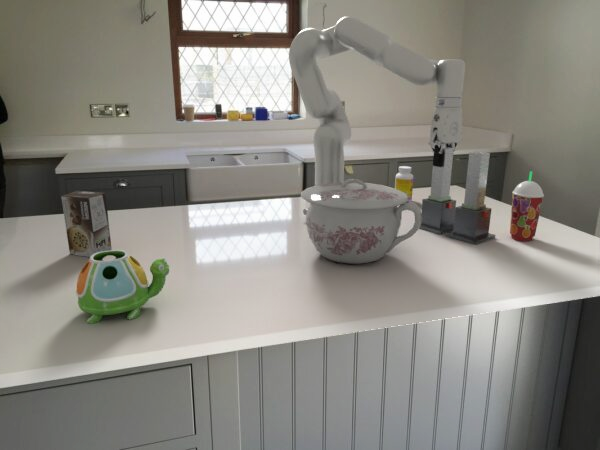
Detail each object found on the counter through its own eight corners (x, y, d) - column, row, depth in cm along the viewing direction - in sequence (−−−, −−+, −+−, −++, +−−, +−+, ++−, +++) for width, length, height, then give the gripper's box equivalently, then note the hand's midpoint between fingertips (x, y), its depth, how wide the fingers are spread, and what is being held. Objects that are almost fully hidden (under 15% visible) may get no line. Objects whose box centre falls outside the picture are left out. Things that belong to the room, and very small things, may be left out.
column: (440, 208, 152) (445, 149, 147) (427, 205, 156) (432, 147, 151) (450, 205, 155) (455, 147, 150) (437, 202, 159) (442, 145, 153)
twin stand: (475, 244, 142) (485, 156, 135) (445, 236, 149) (453, 152, 142) (494, 238, 148) (505, 153, 140) (465, 230, 155) (474, 149, 148)
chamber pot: (284, 245, 140) (284, 172, 134) (369, 234, 150) (372, 166, 144) (329, 283, 115) (331, 195, 109) (427, 266, 126) (434, 185, 120)
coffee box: (113, 250, 135) (106, 192, 130) (96, 258, 129) (89, 198, 124) (85, 246, 138) (78, 189, 133) (68, 254, 132) (60, 195, 127)
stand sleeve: (440, 234, 151) (443, 205, 148) (414, 226, 158) (416, 199, 156) (459, 228, 157) (462, 200, 154) (433, 221, 164) (436, 194, 162)
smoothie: (537, 236, 150) (547, 170, 144) (537, 244, 142) (547, 175, 136) (507, 232, 153) (515, 168, 147) (505, 240, 146) (514, 172, 140)
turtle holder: (177, 312, 100) (173, 257, 97) (79, 330, 93) (71, 271, 90) (166, 289, 111) (163, 238, 108) (78, 303, 104) (71, 249, 101)
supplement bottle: (411, 203, 188) (414, 169, 184) (393, 202, 189) (396, 168, 185) (411, 198, 194) (414, 166, 190) (394, 198, 195) (396, 165, 191)
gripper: (441, 105, 139) (435, 170, 144) (475, 103, 149) (469, 164, 154) (419, 103, 144) (414, 166, 150) (454, 102, 154) (448, 161, 160)
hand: (442, 164), depth 152 cm, fingers closed on column, 4 cm apart
